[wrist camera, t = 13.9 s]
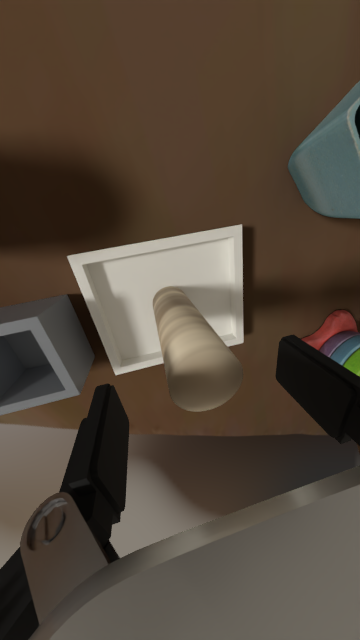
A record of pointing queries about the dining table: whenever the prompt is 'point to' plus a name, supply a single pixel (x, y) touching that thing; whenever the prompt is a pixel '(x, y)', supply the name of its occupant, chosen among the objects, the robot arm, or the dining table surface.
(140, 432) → the dining table surface
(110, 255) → the white tray
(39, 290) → the dining table surface
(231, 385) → the birch peg
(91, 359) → the grey open box
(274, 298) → the dining table surface
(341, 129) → the flower pot
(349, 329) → the stacking bear
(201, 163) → the dining table surface
